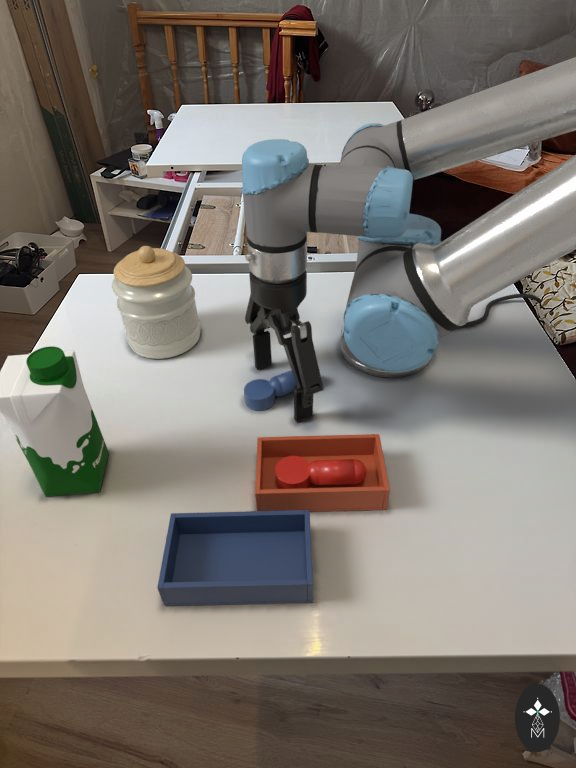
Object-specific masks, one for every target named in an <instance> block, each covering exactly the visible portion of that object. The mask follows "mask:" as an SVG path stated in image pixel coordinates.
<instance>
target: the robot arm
mask: <svg viewBox="0 0 576 768" xmlns="http://www.w3.org/2000/svg"><path fill="white" fill-rule="evenodd" d="M575 131H576V56H574V57H572V58H570V59H567V60H563V61H561V62H558V63H556V64H553V65H549V66H547V67H544V68H542V69H538V70H536V71H533V72H531V73H528V74H525V75H521V76H519V77H517V78H514V79H511V80H507V81H505V82H503V83H500V84H497V85H495V86H492V87H489V88H485V89H483V90H481V91H477V92H475V93H472V94H470V95H466V96H464V97H461V98H458V99H455V100H453V101H450V102H448V103H445V104H442V105H438V106H436V107H433V108H431V109H427V110H425V111H422V112H419V113H417V114H414V115H412V116H408V117H406V118H403V119H401V120H398V121H393V122H391V123H388V124H386V125H385V124H383V123H378V122H377V123H375V122H372V123H366V124H363V125H362V126H360V127H358V128H356V130H355V131H354V132H352V134H351V136H350V137H349V138H348V139H347V141H346V142H345V144H344V146H343V149H342V151H341V156H340V161H339V164H338V165H324V164H316V163H310V161H309V160H310V159H309V158H308V152H307V148H306V147H305V146H304V145H303V144H302V143H300V142H299V141H292V140H291V141H290V140H289V139H285V138H274V139H273V138H272V139H265V140H260V141H257V142H254V143H252V144H250V145H249V146H248V147H247V148H246V149H245V151H244V152H243V153H242V157H241V172H242V173H241V174H242V175H241V177H242V178H241V179H242V180H241V181H242V184H241V185H242V187H241V189H240V190H241V194H242V200H243V210H244V211H243V212H244V220H245V229H246V243H247V253H246V254H245V255H244V258H245V261H246V262H248V269H249V276H248V277H249V288H250V289H249V290H250V295H249V298H248V303H247V307H246V312H245V316H244V321H245V323H246V325H250V326H249V331H250V332H251V334H253V335H252V345H253V359H254V368H255V369H256V371H257V370H262V369H264V368H266V367H269V366H272V365H273V360H272V359H273V358H272V341H271V332H270V331H269V330H268V329H273V330H274V333H275V336H276V338H277V341H278V344H279V346H283V349H284V352H285V354H286V355H285V356H286V359H287V361H288V364H289V367H290V371H291V370H292V373H293V376H294V379H295V382H296V386H294V390H293V392H292V393H293V415H294V416H293V417H294V418H293V419H294V421H295V422H296V423H299V422H302V421H305V420H306V419H309V418H311V417H313V416H314V395H315V394H317V393H320V392H322V391H324V385H323V380H322V376H321V372H320V366H319V363H318V359H317V358H318V357H317V353H316V350H315V344H314V341H313V329H312V324H311V322H310V321H309V320H308V321H304V322H302V321H301V320H300V319H301V318H300V314H299V310H298V308H299V306H300V305H301V304H302V303H303V301H304V300H305V298H306V297H307V293H308V289H307V288H308V287H307V286H308V283H307V282H308V274H307V273H308V271H307V268H308V233H313V234H319V233H320V234H331V235H341V236H342V235H343V236H350V237H351V236H354V237H357V239H356V240H358V242H357V255H356V262H355V267H354V273H353V277H352V281H351V285H350V289H349V293H348V296H347V302H346V306H345V309H344V312H343V318H342V319H343V330H341V333H340V335H341V337H340V350H341V351H340V352H341V354H342V356H343V359H344V360H345V361H346V362H347V363H348V364H349V365H350V366H352V367H353V368H354V369H356V370H358V371H360V372H362V373H364V374H367V375H371V376H374V377H379V378H401V377H407V376H411V375H413V374H416V373H418V372H420V371H422V370H423V369H424V368H425V367H427V366H428V364H429V363H430V362H431V359H432V358H433V356H434V355H435V353H436V351H437V349H438V346H439V344H440V341H439V339H441V338H442V337H444V336H446V335H448V334H450V333H452V332H454V331H456V330H457V329H459V328H460V329H461V328H467V327H472V326H476V325H479V324H482V323H483V322H484V321H485V320H487V318H488V317H489V314H490V310H491V308H492V306H493V305H495V304H498V303H501V302H504V301H508V300H513V299H530V300H533V301H535V302H536V303H542V302H543V301H542V298H540V297H538V296H536V295H534V294H530V293H512V294H508V295H505V296H501V297H497V298H495V299H492V300H490V301H489V302H488V303H487V304H486V305H485V309H484V313H483V315H482V316H481V317H480V318H478V319H474V320H471V321H469V317H470V313H471V310H472V308H473V307H474V306H476V305H478V304H479V303H481V302H483V301H485V300H486V299H488V298H490V297H492V296H494V295H496V294H497V293H499V292H501V291H503V290H505V289H507V288H508V287H510V286H512V285H514V284H515V283H517V282H519V281H521V280H523V279H524V278H526V277H528V276H530V275H532V274H533V273H535V272H537V271H539V270H541V269H542V268H544V267H546V266H548V265H549V264H551V263H554V262H556V261H557V260H559V259H561V258H562V257H564V256H566V255H568V254H569V253H572V252H573V251H575V250H576V154H575V155H573V156H571V157H570V158H568V159H567V160H565V161H564V162H562V163H560V164H559V165H558V166H556V167H554V168H553V169H551V170H550V171H549V172H547V173H546V174H544V175H542V176H540V177H539V178H538V179H536V180H535V181H533V182H531V183H530V184H528V185H526V186H525V187H524V188H523V189H520V190H519V191H518V192H516V193H515V194H513V195H512V196H510V197H509V198H507V199H506V200H504V201H502V202H500V203H499V204H497V205H496V206H495V207H493V208H492V209H490V210H488V211H487V212H486V213H484V214H482V215H481V216H479V217H478V218H476V219H475V220H473V221H471V222H470V223H468V224H467V225H465V226H464V227H462V228H461V229H459V230H458V231H456V232H454V233H453V234H451V235H450V236H449V237H447V238H446V239H444V240H442V239H441V238H442V228H441V226H440V225H439V223H438V222H437V221H435V220H434V219H431V218H430V217H426V216H424V215H420V214H415V213H410V210H411V203H412V202H411V201H412V192H413V183H414V181H416V180H418V179H422V178H426V177H428V176H431V175H435V174H438V173H442V172H445V171H449V170H452V169H455V168H458V167H461V166H464V165H468V164H470V163H471V164H472V163H475V162H478V161H481V160H484V159H487V158H490V157H494V156H496V155H500V154H503V153H507V152H510V151H513V150H516V149H520V148H523V147H526V146H529V145H533V144H536V143H539V142H543V141H545V140H549V139H552V138H555V137H559V136H562V135H565V134H568V133H571V132H575ZM288 335H289V337H285V336H288Z"/></svg>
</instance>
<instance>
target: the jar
mask: <svg viewBox="0 0 576 768" xmlns="http://www.w3.org/2000/svg"><path fill="white" fill-rule="evenodd" d="M113 276H114V278H113V280H112V282H111V289H112V292H113V293H114V295H115V296H117V300H116V308H117V309H118V311H119V313H120V316H121V320H122V325H123V327H124V335H125V338H126V342H127V344H128V345H129V346H130V348H131V349H132V351H133V352H134V353H135V354H136V355H139V356H140V357H143V358H147V359H154V360H155V359H156V360H158V359H159V360H161V359H169V358H173V357H177V356H180V355H183V354H184V353H186V352H188V351H190V350H191V349H192V348H193V347H194V346H195V345H196V344H197V343H198V342H199V340H200V337H201V329H202V328H201V320H200V317H199V314H198V310H197V309H198V308H197V303H196V291H195V288H194V287H193V285H192V284H191V283H192V280H193V273H192V271H191V269H190V268H188V267H187V266H186V262H185V260H184V258H183V257H182V256H181V255H180V254H178V253H176V252H173V251H171V250H168V249H165V248H161V247H159V248H157V247H152V246H149V245H142V246H141V247H139V249H138V250H136V251H133V252H131V253H129V254H127V255H126V256H124V258H122V259H121V260H120V261H118V262H117V264H116V265H115V266H114V269H113Z"/></svg>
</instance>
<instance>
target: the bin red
mask: <svg viewBox="0 0 576 768" xmlns="http://www.w3.org/2000/svg"><path fill="white" fill-rule="evenodd" d="M381 441H382V440H381V436H380V434H379V433H367V434H364V433H363V434H330V435H329V434H327V435H326V434H325V435H292V436H291V435H290V436H287V435H285V436H257V442H256V462H255V463H256V464H255V487H254V496H255V505H256V511H286V510H309V511H310V512H312V513H313V512H347V511H349V512H351V511H387V510H388V505H389V497H390V491H391V488H390V484H389V478H388V473H387V468H386V462H385V457H384V452H383V446H382V442H381ZM288 456H299V457H302V458H304V459H306V460H307V461H308V462H309V464H310V463H311V462H312V461H315V460H340V459H356V460H359V461H361V462H362V463H363V464H364V465H365V467H366V477H365V479H364V480H363V481H362V482H361V483H359V484H349V485H314V484H312V483H311V484H310V487H309V488H303V489H278V487H277V485H276V476H275V467H276V465H277V463H278V462H279V461H280V460H281V459H283V458H285V457H288Z"/></svg>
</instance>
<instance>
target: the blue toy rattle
mask: <svg viewBox="0 0 576 768" xmlns="http://www.w3.org/2000/svg"><path fill="white" fill-rule="evenodd" d="M294 386H296V382H295V379H294V376H293V373H292V370H291V369H290V370H288V371H286V372H282V373H280V374H277V375H274V376H272V377H270V379H269V380H267V379H263V378H262V379H261V378H257V379H253V380H251V381H249V382H248V383H246V384H245V385H244V387H243V396H244V403H245V405H246V407H247V408H248V409H250V410H252V411H258V412H263V411H266V410H268V409H271V408H272V407H273V406H274V404H275V403H276V402H275V401H276V397H283V396H285V395H288V394H290V393H294V392H293V390H294Z"/></svg>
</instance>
